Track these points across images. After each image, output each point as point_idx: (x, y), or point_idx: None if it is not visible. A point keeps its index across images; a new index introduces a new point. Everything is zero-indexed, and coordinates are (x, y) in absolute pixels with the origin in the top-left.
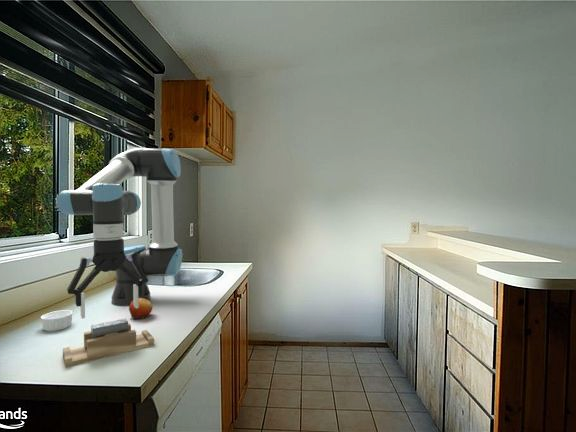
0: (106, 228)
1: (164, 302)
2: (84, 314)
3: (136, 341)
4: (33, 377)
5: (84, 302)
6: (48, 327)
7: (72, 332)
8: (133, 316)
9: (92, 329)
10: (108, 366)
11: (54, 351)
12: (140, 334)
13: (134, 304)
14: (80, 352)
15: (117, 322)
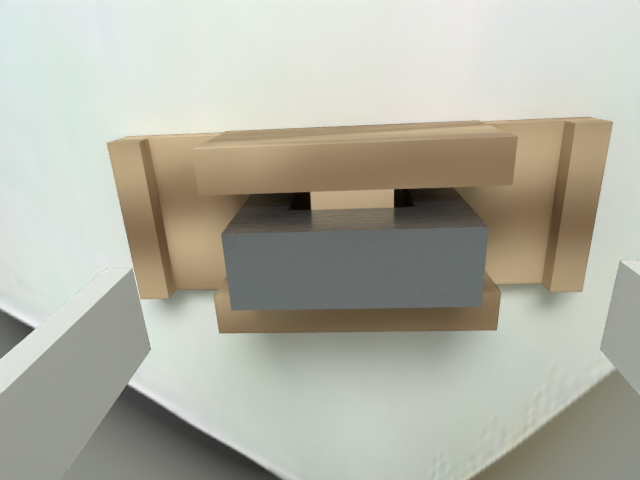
0: None
1: None
2: (131, 370)
3: (492, 225)
4: (52, 302)
5: (62, 474)
6: None
7: None
8: None
9: (232, 309)
10: (319, 371)
11: (72, 42)
12: (554, 124)
13: (627, 314)
14: (205, 203)
15: (407, 281)
